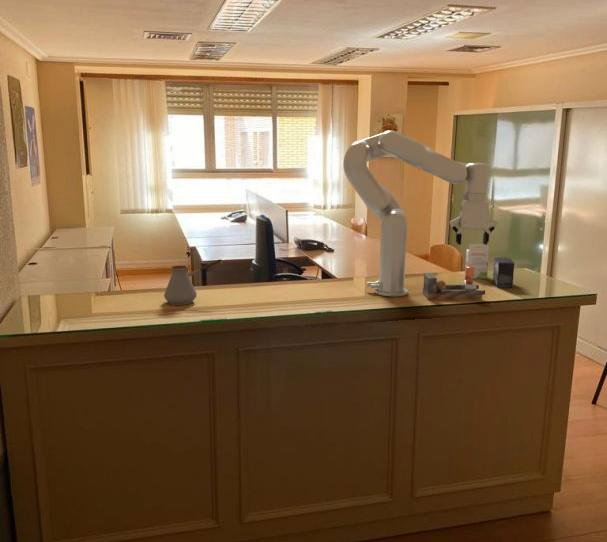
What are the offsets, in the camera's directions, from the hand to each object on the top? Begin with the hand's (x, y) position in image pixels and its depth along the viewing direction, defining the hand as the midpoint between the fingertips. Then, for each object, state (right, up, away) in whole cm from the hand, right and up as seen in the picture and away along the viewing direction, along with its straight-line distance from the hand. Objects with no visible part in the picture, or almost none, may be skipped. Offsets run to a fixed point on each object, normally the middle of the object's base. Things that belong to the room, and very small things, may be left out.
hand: (471, 244), depth 219 cm
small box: (+19, -16, +22) cm, 33 cm away
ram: (0, -17, +4) cm, 18 cm away
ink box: (+11, -13, +35) cm, 39 cm away
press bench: (-6, -19, +5) cm, 21 cm away
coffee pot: (-101, -21, -4) cm, 103 cm away
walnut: (-11, -17, +4) cm, 21 cm away
